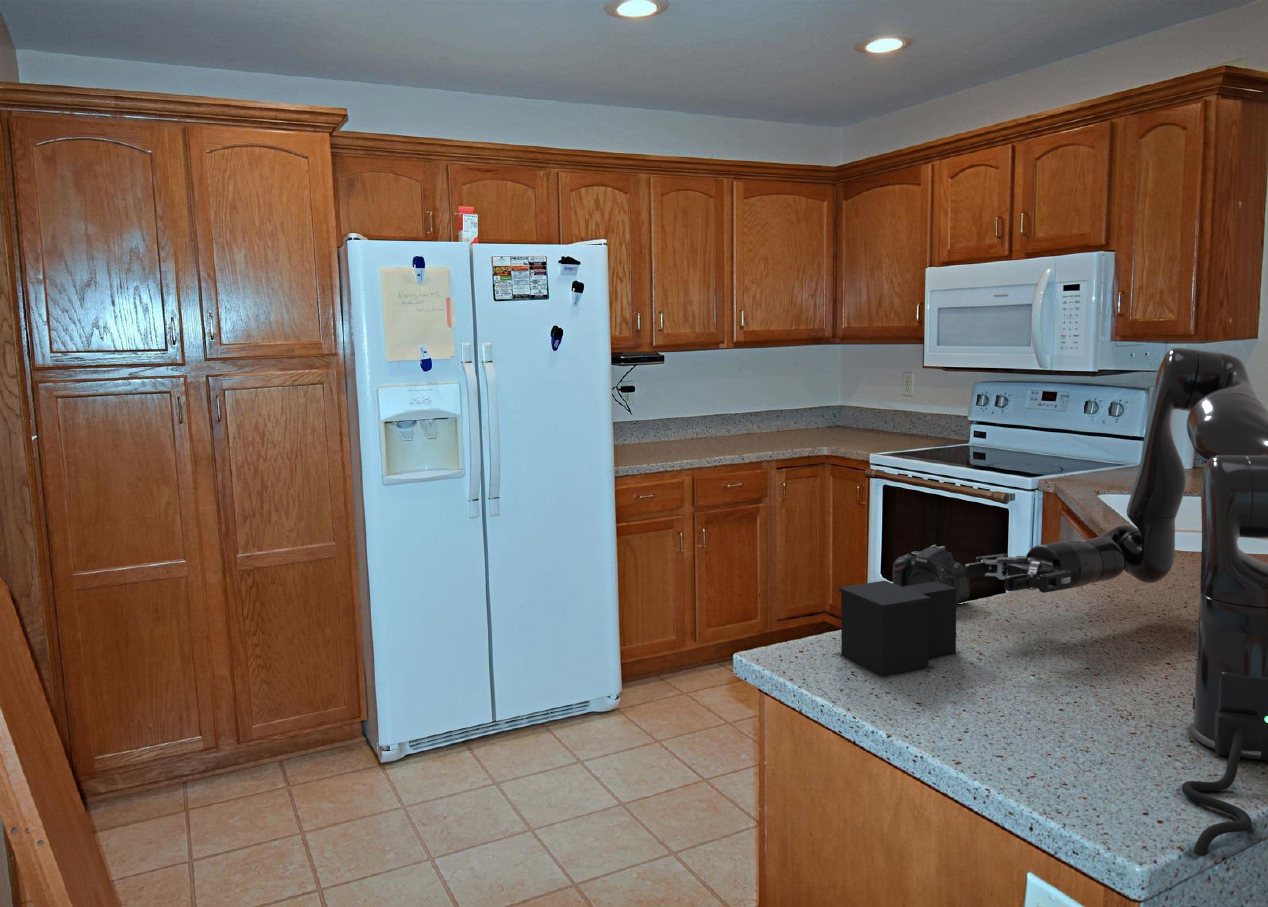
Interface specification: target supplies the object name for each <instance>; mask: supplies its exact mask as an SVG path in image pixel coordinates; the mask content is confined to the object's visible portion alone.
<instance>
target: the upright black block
mask: <svg viewBox="0 0 1268 907" xmlns="http://www.w3.org/2000/svg"><path fill="white" fill-rule="evenodd" d="M903 587H904V588H907V589H910V590H912V591H915V592H918V593H920V594H923V595H926V596H929V597H931V601H929V629H928V659H929V658H935V657H936V658H937V657H939V656H940V657H941V656H945V655H950V654H956V652H957V604H956V599H957V588H954V587H951V586H949V585H946V584H943V583H940V582H937V581H934V582H928V583H922V584H916V585H909V586H903Z"/></svg>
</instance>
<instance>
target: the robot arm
mask: <svg viewBox="0 0 1268 907" xmlns="http://www.w3.org/2000/svg"><path fill="white" fill-rule="evenodd" d="M1249 377H1250V376H1249V373H1248V370H1247V368H1246V366H1245V364H1244V363H1243V361H1242V360H1241V359H1239V358H1238V357H1236V356H1235V355H1232V354H1229V353H1222V352H1214V351H1206V350H1200V349H1190V348H1184V347H1174V348H1171V349H1169V350H1168V351H1167V352H1166V353H1165V354H1164V356H1163V357H1162V360H1161V362H1160V363H1159V366H1158V369H1157V371H1156V376H1155V378H1154V384H1153V387H1152V394H1151V398H1150V404H1149V409H1148V415H1147V421H1146V426H1145V431H1144V437H1143V438H1144V439H1143V446H1142V450H1141V451H1142V452H1141V456H1140V457H1141V458H1140V463H1139V467H1138V470H1137V475H1136V478H1135V480H1134V483H1133V488H1132V490H1131V494H1130V497H1129V501H1128V503H1127V506H1126V516H1127V518H1128V519H1129V521H1130V522H1131V523H1132V524H1133V525H1134V526H1131V525H1123V524H1122V525H1117V526H1115V527H1113V528H1112V529H1110V530H1107V531H1106V532H1104V533H1102V534H1100V535H1098V536H1097V537H1095V538H1088V539H1082V540H1081V539H1080V540H1065V541H1064V540H1063V541H1058V542H1051V543H1050V542H1049V543H1045V544H1037V545H1034V546H1033V547H1032V548H1030V549H1029V551H1028V552H1027V553H1026V555H1016V556H1013V557H1012V556H1009V554H1008V553H999V554H990V555H989V554H988V555H981V556H980V555H979V556H976V557H975V562H972V563H971V562H970V563H966V564H964V565H963V568H964V577H965V578H969V579H976V578H980V577H981V578H982V577H996V578H997V579H998V580H1002V581H1003V582H1004V585H1003V586H1004V587H1003V588H1004V590H1005V591H1007V592H1015V591H1022V590H1028V591H1035V590H1038V591H1039V592H1041V593H1042V594H1043V593H1044V594H1046V593H1052V592H1057V591H1064V590H1069V589H1075V588H1080V587H1083V586H1088V585H1089V584H1093V583H1095V584H1096V583H1100V582H1105V581H1106V582H1107V581H1110V580H1113V579H1116V578H1118V577H1120V575H1121V574H1122V573H1123V572H1126V573H1127V574H1129V575H1130V576H1132V577H1133V578H1135V579H1136V580H1138V581H1139V582H1142V583H1145V584H1154V583H1157V582H1160V581H1161V580H1162V579H1164V578H1165V577H1166V576H1167V575H1168V574H1169V573H1170V571H1171V569H1172V567H1173V565H1174V562H1175V556H1176V518H1177V515H1178V513H1179V510H1180V507H1181V504H1182V501H1183V498H1184V496H1185V492H1186V488H1187V474H1186V473H1187V472H1186V470H1185V466H1184V463H1183V461H1182V458H1181V456H1180V454H1179V451H1178V449H1177V446H1176V444H1175V439H1174V437H1173V432H1172V417H1173V416H1172V415H1173V411H1174V410H1179V411H1187V412H1189V413H1188V415H1187V418H1186V432H1187V436H1188V438H1189V441H1190V442H1191V445H1192V447H1193V450H1194V452H1195V453H1196V456H1198V458H1199V459H1200V460H1201V461H1202V462H1203V463H1205V466H1204V468H1203V471H1202V476H1201V477H1202V478H1201V485H1200V486H1201V487H1200V508H1201V509H1200V510H1201V555H1200V556H1201V558H1200V559H1201V560H1200V584H1199V602H1198V603H1199V605H1198V619H1197V620H1198V622H1197V623H1198V624H1197V646H1196V664H1195V665H1196V667H1195V688H1194V696H1193V697H1192V710H1194V714H1193V723H1192V736H1193V737H1194V738H1195V740H1196V741H1197V742H1199V743H1201V744H1202V745H1204V746H1206V747H1208V748H1209V749H1212V750H1214V751H1215V753H1216V754H1217V755H1220V756H1225V757H1227V756H1228V759H1227V763H1226V767H1225V768H1226V769H1225V772H1224V775H1223V776H1222V777H1221V778H1220V779H1219V780H1216V781H1201V780H1200V781H1199V780H1187V781H1184V782H1183V783H1182V785H1181V791H1182V793H1183V794H1184V795H1185V796H1186V797H1187V798H1189V799H1190V800H1192V801H1193V802H1196V803H1198V804H1201V805H1204V806H1206V807H1210V808H1212V809H1215V810H1218V811H1220V812H1222V813H1225V814H1228V815H1230V816H1233V817H1235V818H1236V819H1238V820H1235V821H1233V820H1232V821H1224V822H1223V821H1222V822H1218V823H1215V824H1212V825H1210V826H1208V827H1207V828H1205V829H1204V830H1203V831H1202V832H1201V834H1200V835H1199V836H1198V838H1197V840H1196V843H1195V844H1194V848H1193V853H1194V855H1196V856H1200V857H1203V856H1206V855H1207V851H1208V849H1209V847H1210V845H1211V843H1212V842H1213V841H1214V840H1215V839H1216V838H1217V837H1219V836H1222V835H1225V834H1229V833H1239V832H1241V833H1242V832H1246V831H1247V832H1248V831H1249V830H1250V829H1251V828H1252V826H1253V821H1252V818H1251V817H1250V816H1249V814H1248V813H1247V812H1246V811H1245V810H1243V809H1242V808H1240V807H1238V806H1236V805H1235V804H1231V803H1229V802H1226V801H1223V800H1221V799H1219V798H1215V797H1212V796H1210V795H1207V794H1204V793H1201V792H1221V791H1225V790H1227V789H1228V788H1230V787H1231V786H1232V785H1233V783H1234V781H1235V779H1236V776H1237V772H1238V767H1239V762H1240V758H1242V759H1250V760H1258V761H1265V762H1268V563H1267V562H1264V561H1261V560H1260V559H1256V558H1254V557H1253V556H1250V555H1249V554H1247V553H1246V552H1244V551H1243V550H1241V549H1240V547H1239V544H1238V540H1239V538H1245V539H1247V538H1248V539H1267V540H1268V410H1267V408H1266V406H1264V405H1263V403H1262V402H1261V401H1260V399H1259V398H1258V396H1257V394H1256V392H1255V391H1254V389H1253V386H1252V382H1251V380H1250V378H1249ZM1004 571H1006V574H1003V572H1004ZM1191 907H1197V906H1195V905H1191Z"/></svg>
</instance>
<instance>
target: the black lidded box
mask: <svg viewBox="0 0 1268 907" xmlns="http://www.w3.org/2000/svg"><path fill="white" fill-rule="evenodd" d="M838 591H839V592H840V598H841V599H840V609H841V610H840V613H841V614H840V615H841V617H840V619H841V620H840V621H841V625H840V626H841V628H840V629H841V630H840V631H841V642H840V643H841V644H840V646H841V648H840V649H841V655H842V656H844V657H846V658H848V659H850V660H851V661H854V662H855V663H857V664H859V665H861V666H863V667H865V668H866V669H868V670H871V671H872V672H874V673H877V674H878V675H880V676H882V677H885V676H890V675H895V674H900V673H906V672H909V671H914V670H915V671H916V670H919V669H925V668H928V667H929V658H928V629H929V601H931V597H929V596H926V595H923V594H920V593H918V592H915V591H912V590H910V589H907V588H904V587H901V586H899V585H896V584H893V582H890V581H888V580H878V581H871V582H866V583H860V584H853V585H847V586H841V587H839V588H838Z"/></svg>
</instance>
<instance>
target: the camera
mask: <svg viewBox="0 0 1268 907" xmlns="http://www.w3.org/2000/svg"><path fill="white" fill-rule="evenodd" d="M934 581H937V582H940V583H943V584H946V585H949V586H951V587H954V588H957V599H956V605H957V604H959V603H961V602H965V601H966V600H968V599H969V598H970V578H965V577H964V565H963V564H962V563H960V562H958V561H956V560H954V558H953V553H952V552H948V551H947V549H946V546H945V545H942V546H937V544H933V545H931V546H928V547H927V548H925V549H923V550H921V551H910V552H909V553H907V554H904V555H902V556H899V557H898V558H896V559H895V561H894V562H893V564H892V583H893V584H896V585H899V586H901V587H903V586H909V585H916V584H922V583H928V582H934Z"/></svg>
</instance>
